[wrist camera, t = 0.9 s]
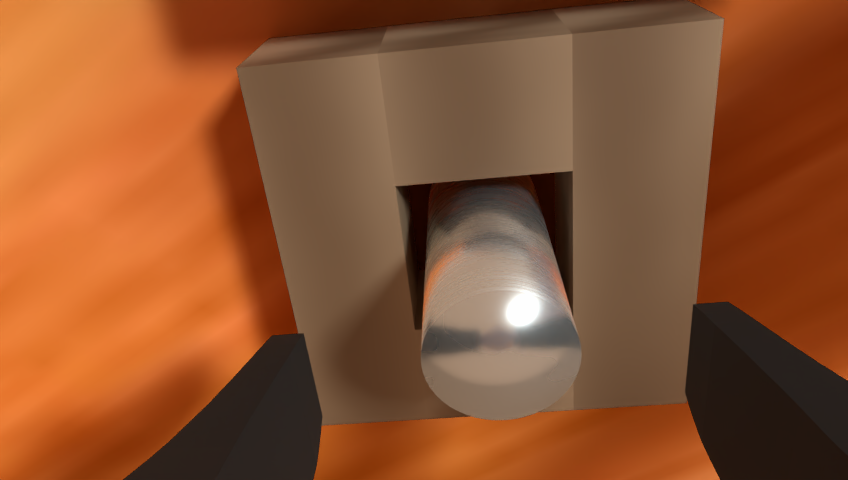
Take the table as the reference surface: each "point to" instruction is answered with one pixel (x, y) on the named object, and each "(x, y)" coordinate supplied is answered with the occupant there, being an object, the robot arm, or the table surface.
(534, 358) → the metal peg
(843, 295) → the table surface
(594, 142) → the socket block
